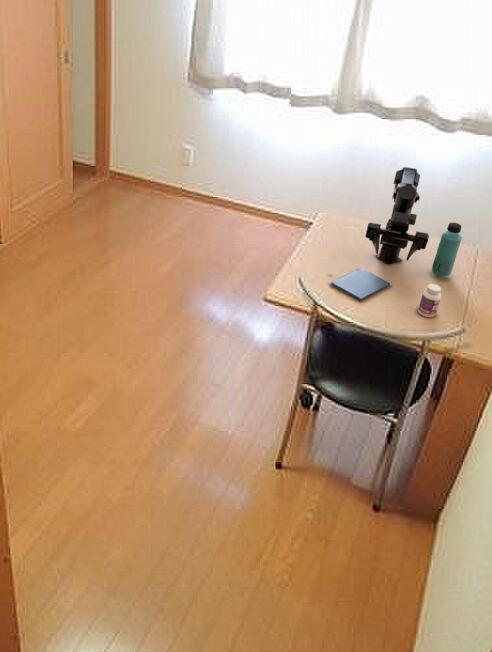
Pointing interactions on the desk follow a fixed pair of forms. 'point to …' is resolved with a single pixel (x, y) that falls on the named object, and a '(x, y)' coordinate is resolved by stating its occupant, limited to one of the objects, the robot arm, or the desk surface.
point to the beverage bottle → (447, 250)
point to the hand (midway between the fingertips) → (392, 256)
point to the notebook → (360, 284)
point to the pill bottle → (430, 301)
